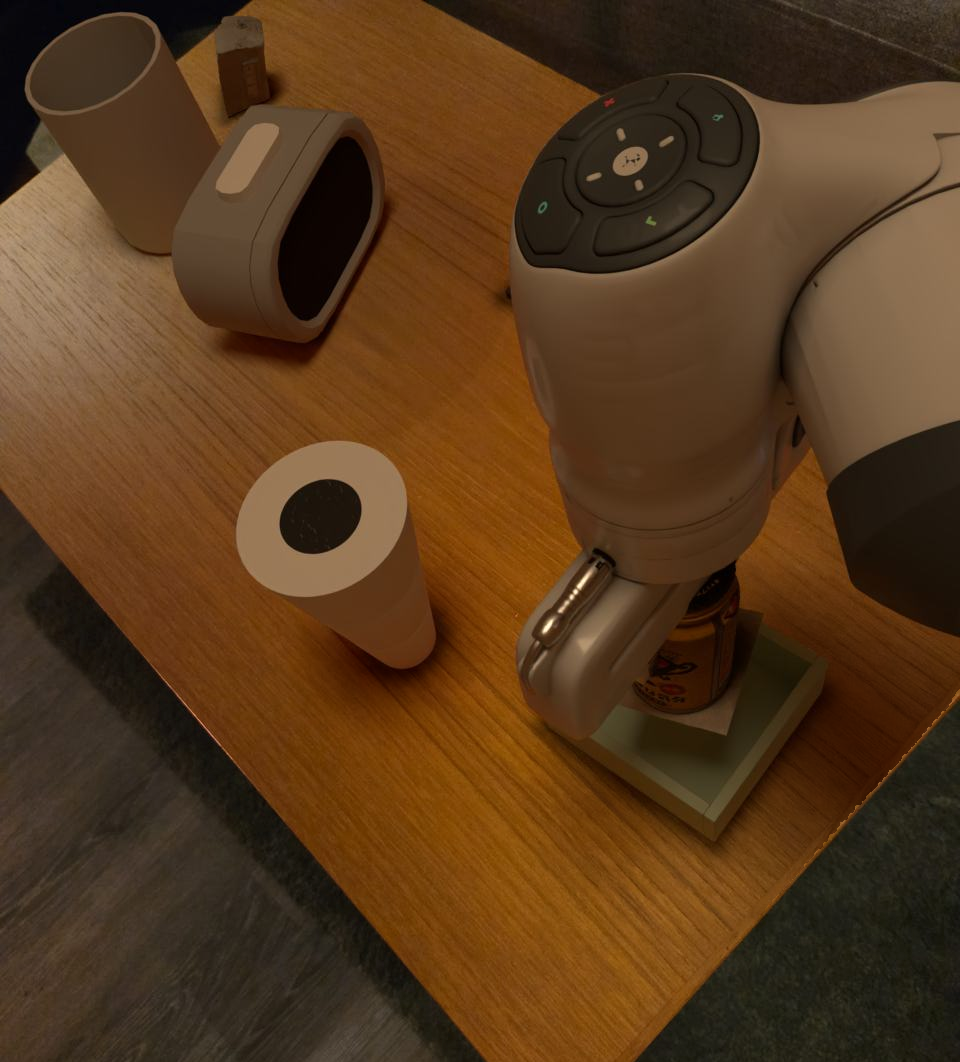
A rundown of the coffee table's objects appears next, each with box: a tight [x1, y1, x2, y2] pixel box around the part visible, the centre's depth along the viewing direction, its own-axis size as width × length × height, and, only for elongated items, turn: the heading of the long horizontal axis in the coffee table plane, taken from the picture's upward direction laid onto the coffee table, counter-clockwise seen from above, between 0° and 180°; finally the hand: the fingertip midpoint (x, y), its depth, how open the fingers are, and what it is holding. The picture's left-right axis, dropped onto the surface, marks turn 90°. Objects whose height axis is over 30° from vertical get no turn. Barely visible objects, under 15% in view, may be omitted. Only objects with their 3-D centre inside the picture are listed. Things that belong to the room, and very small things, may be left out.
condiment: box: [617, 559, 765, 735], centre depth 54 cm, size 7×8×12 cm
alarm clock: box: [171, 103, 386, 344], centre depth 86 cm, size 21×10×13 cm, turn 158°
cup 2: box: [235, 440, 437, 670], centre depth 66 cm, size 11×11×18 cm
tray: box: [544, 621, 831, 843], centre depth 65 cm, size 14×13×5 cm
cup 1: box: [24, 11, 221, 255], centre depth 94 cm, size 13×18×16 cm
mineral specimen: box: [213, 15, 271, 117], centre depth 101 cm, size 7×9×8 cm
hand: (679, 614), depth 54 cm, fingers closed on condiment, 6 cm apart
